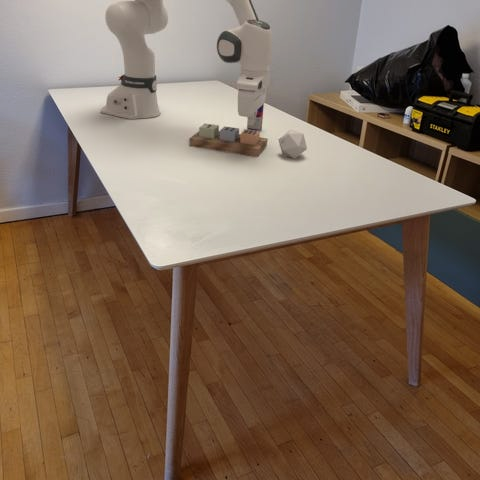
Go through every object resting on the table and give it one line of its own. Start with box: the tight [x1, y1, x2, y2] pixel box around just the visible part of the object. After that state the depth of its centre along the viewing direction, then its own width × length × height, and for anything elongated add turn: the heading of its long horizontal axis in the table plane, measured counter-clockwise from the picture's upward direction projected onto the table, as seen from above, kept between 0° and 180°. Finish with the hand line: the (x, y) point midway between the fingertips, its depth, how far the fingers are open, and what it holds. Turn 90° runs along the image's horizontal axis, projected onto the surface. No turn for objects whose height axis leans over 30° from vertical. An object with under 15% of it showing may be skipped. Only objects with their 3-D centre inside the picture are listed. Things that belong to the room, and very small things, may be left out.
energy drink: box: [246, 103, 265, 132], centre depth 174 cm, size 5×5×12 cm
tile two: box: [219, 125, 240, 142], centre depth 158 cm, size 5×5×4 cm
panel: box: [189, 130, 268, 158], centre depth 159 cm, size 23×12×2 cm, turn 74°
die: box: [278, 129, 308, 160], centre depth 154 cm, size 8×9×10 cm
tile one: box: [198, 122, 220, 139], centre depth 160 cm, size 5×5×4 cm
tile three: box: [240, 128, 261, 145], centre depth 157 cm, size 5×5×4 cm
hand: (251, 123), depth 154 cm, fingers closed
